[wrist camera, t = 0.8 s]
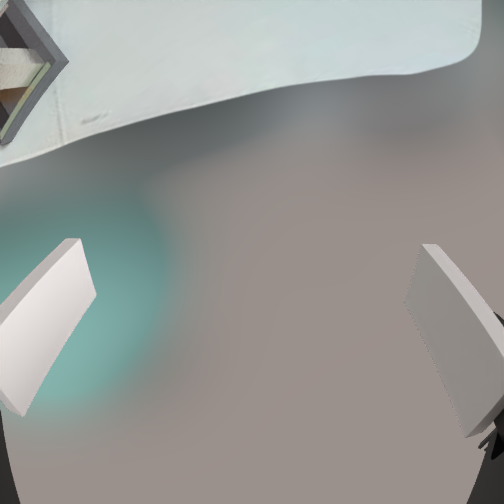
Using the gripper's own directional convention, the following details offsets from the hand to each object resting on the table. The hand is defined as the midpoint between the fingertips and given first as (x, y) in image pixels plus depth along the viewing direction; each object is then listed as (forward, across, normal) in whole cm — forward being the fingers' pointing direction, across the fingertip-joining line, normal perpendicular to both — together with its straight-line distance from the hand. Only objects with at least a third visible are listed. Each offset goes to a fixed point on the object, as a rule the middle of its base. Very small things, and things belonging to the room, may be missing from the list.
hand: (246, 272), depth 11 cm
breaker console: (+27, -37, +17) cm, 49 cm away
